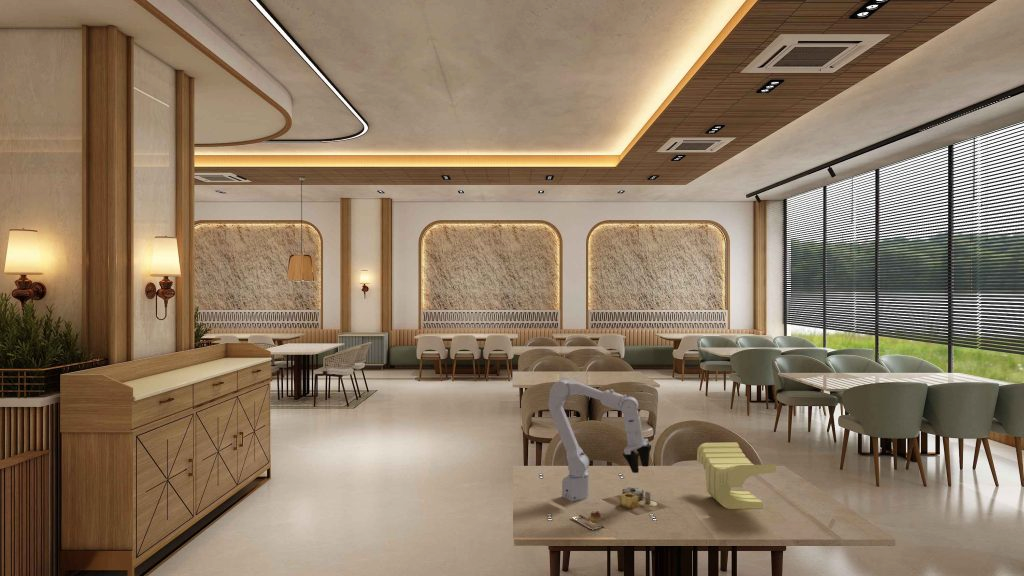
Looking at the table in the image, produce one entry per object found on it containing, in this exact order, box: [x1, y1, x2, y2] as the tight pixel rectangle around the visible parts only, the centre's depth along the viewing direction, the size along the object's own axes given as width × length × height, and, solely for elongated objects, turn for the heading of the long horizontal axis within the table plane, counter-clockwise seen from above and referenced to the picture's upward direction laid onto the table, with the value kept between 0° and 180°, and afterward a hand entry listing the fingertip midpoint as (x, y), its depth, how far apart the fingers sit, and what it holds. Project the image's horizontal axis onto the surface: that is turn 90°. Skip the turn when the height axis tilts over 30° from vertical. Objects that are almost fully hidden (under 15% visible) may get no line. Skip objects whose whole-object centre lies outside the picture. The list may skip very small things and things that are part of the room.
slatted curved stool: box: [696, 441, 777, 510], centre depth 217 cm, size 30×16×18 cm, turn 3°
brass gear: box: [619, 493, 638, 509], centre depth 210 cm, size 5×5×4 cm
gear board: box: [601, 487, 669, 516], centre depth 213 cm, size 15×18×5 cm
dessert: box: [570, 508, 603, 531], centre depth 198 cm, size 12×12×5 cm
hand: (640, 469), depth 213 cm, fingers open, 7 cm apart
